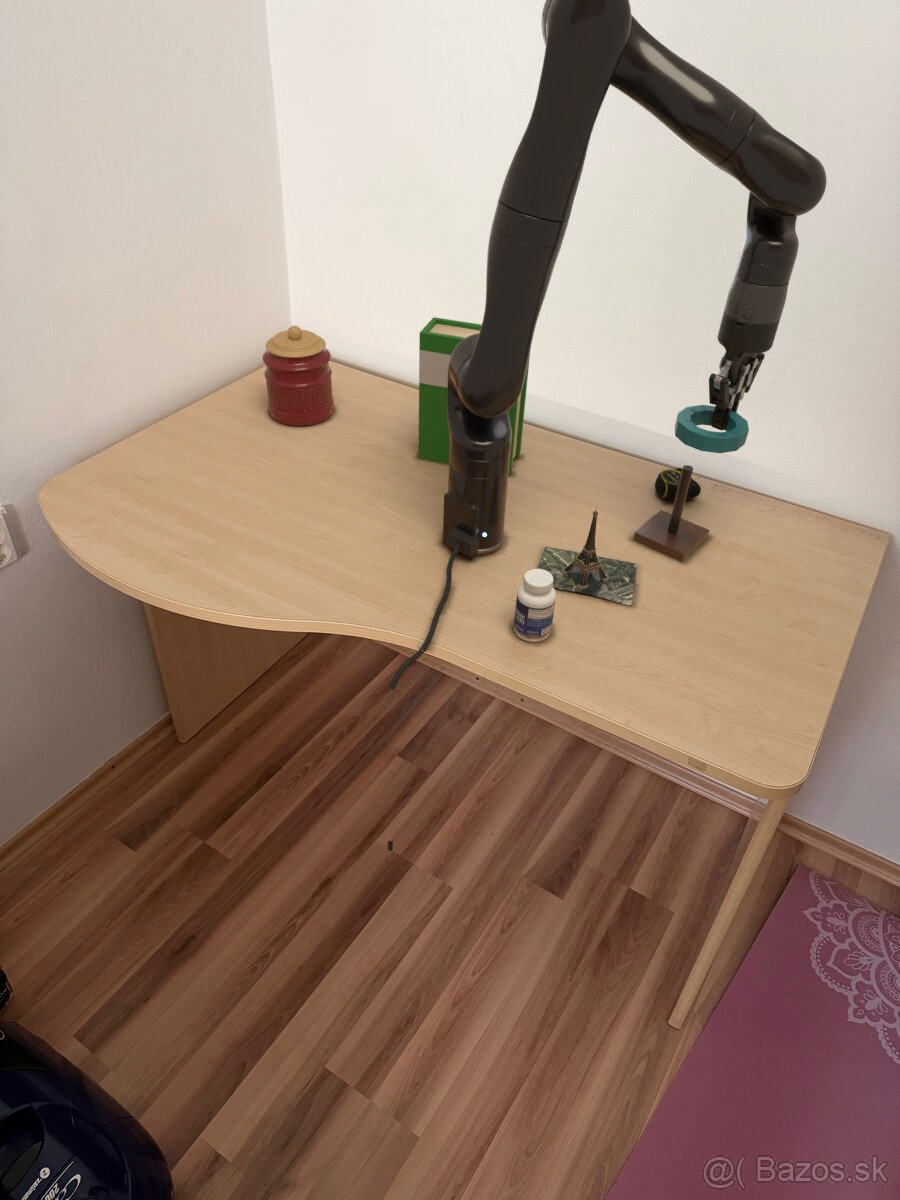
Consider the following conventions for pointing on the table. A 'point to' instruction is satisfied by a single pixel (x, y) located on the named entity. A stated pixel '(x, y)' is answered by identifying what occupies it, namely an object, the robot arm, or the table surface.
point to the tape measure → (674, 485)
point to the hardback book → (433, 390)
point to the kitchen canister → (298, 378)
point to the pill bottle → (535, 606)
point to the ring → (710, 439)
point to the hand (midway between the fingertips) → (721, 424)
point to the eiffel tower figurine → (590, 571)
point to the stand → (673, 526)
